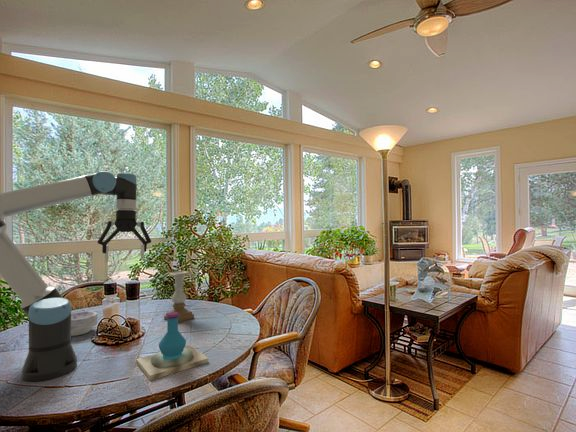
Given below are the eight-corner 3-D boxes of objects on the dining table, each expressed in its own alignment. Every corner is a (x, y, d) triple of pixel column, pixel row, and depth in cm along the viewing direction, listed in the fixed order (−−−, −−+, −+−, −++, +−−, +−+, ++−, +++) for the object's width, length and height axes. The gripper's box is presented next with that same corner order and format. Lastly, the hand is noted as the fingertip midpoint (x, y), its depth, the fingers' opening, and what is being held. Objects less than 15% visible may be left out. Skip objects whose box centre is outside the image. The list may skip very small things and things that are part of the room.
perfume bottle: (158, 352, 117) (158, 311, 117) (184, 348, 121) (184, 308, 121) (159, 363, 109) (159, 318, 109) (187, 358, 112) (187, 315, 113)
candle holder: (175, 323, 158) (175, 275, 158) (163, 319, 165) (163, 272, 165) (194, 317, 167) (194, 272, 167) (182, 314, 174) (181, 270, 174)
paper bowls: (90, 324, 157) (90, 308, 157) (102, 331, 147) (102, 314, 147) (52, 333, 145) (52, 316, 145) (63, 341, 136) (63, 322, 136)
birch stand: (150, 380, 102) (150, 372, 102) (136, 363, 115) (136, 356, 115) (208, 362, 115) (208, 355, 115) (190, 348, 127) (190, 342, 127)
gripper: (154, 211, 146) (153, 258, 146) (90, 209, 131) (89, 261, 130) (159, 210, 140) (158, 259, 140) (93, 208, 125) (91, 263, 124)
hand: (124, 260), depth 135 cm, fingers open, 13 cm apart
